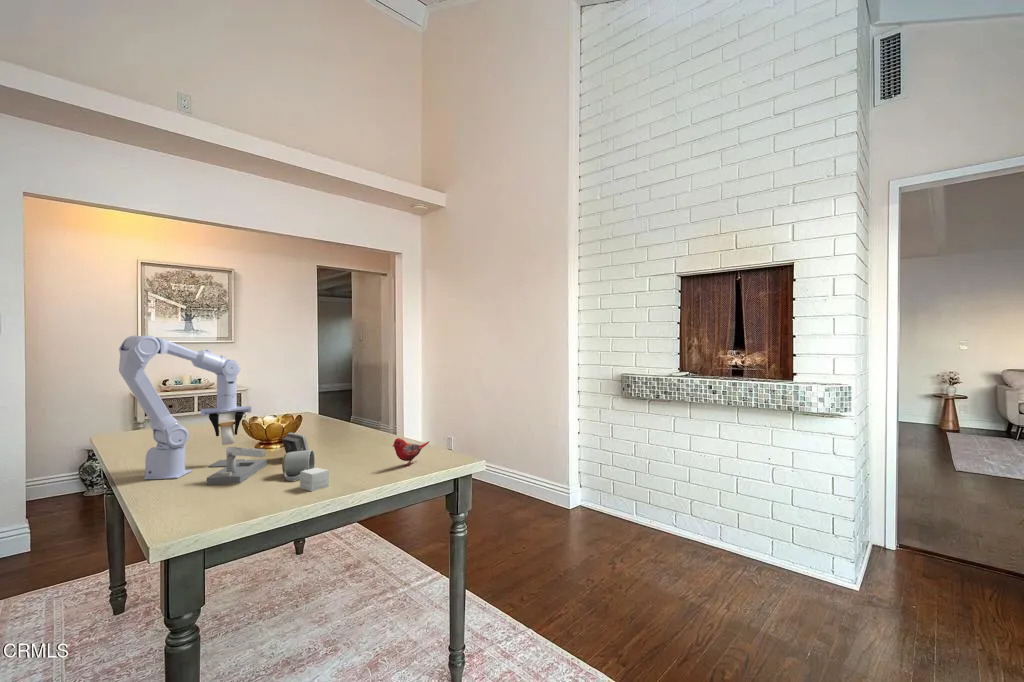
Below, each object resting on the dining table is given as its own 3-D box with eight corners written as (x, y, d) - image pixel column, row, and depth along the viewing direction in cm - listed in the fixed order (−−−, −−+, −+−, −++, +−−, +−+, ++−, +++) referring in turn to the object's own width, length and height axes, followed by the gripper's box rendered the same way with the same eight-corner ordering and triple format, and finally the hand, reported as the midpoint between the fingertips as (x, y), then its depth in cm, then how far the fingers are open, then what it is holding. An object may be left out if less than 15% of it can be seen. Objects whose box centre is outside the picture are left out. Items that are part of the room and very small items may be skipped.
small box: (329, 486, 135) (329, 469, 135) (311, 492, 130) (311, 474, 130) (317, 483, 138) (317, 466, 138) (299, 488, 133) (299, 471, 133)
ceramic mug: (287, 472, 149) (287, 448, 149) (315, 471, 150) (315, 447, 150) (277, 483, 138) (277, 457, 138) (307, 481, 140) (307, 455, 140)
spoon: (231, 453, 143) (231, 446, 143) (266, 455, 140) (266, 448, 140) (224, 455, 140) (224, 448, 140) (259, 457, 138) (259, 450, 138)
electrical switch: (311, 459, 165) (309, 433, 164) (298, 464, 160) (295, 437, 159) (296, 456, 170) (293, 430, 169) (282, 460, 165) (279, 434, 165)
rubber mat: (207, 467, 154) (207, 466, 154) (219, 461, 162) (219, 460, 162) (233, 466, 155) (233, 465, 155) (244, 460, 163) (244, 459, 163)
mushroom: (219, 445, 155) (218, 424, 155) (220, 444, 159) (218, 423, 159) (236, 443, 157) (234, 422, 157) (236, 441, 162) (234, 421, 162)
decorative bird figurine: (389, 469, 152) (389, 439, 152) (426, 458, 167) (426, 430, 167) (395, 471, 150) (395, 440, 150) (432, 459, 165) (432, 430, 165)
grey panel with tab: (206, 484, 136) (206, 459, 136) (237, 466, 156) (237, 444, 156) (239, 483, 137) (239, 458, 137) (266, 465, 157) (266, 443, 157)
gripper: (199, 397, 152) (199, 439, 152) (250, 395, 158) (250, 435, 158) (202, 394, 158) (202, 435, 158) (251, 392, 164) (251, 431, 164)
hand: (226, 435), depth 158 cm, fingers closed on mushroom, 5 cm apart
